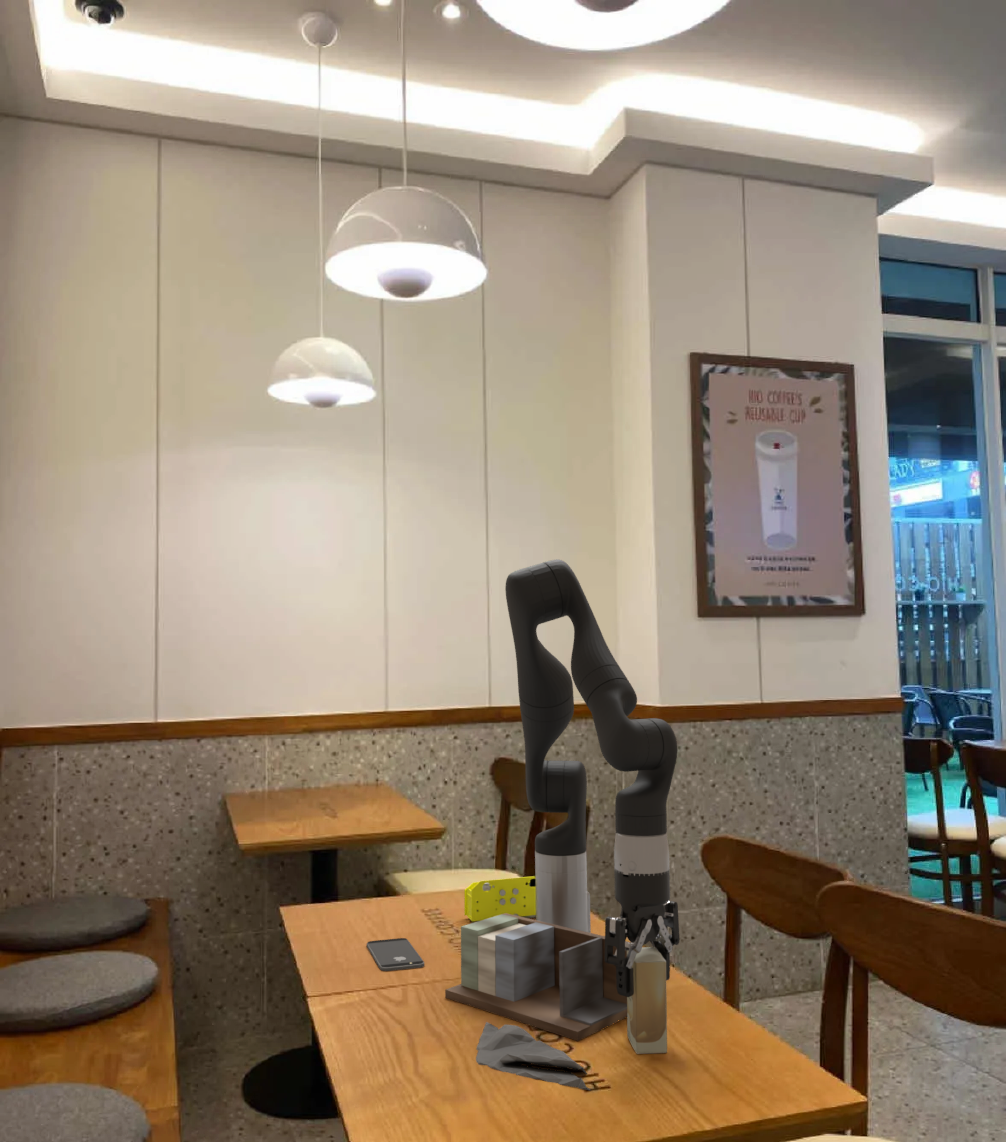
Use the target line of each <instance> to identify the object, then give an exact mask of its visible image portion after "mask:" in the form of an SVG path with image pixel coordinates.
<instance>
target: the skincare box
mask: <svg viewBox="0 0 1006 1142" xmlns="http://www.w3.org/2000/svg"><path fill="white" fill-rule="evenodd" d="M628 952H629V951H628V950H627V955H628ZM632 968H633V979H634V994H633V995H632V996H630V997H627V1019H626V1020H627V1021H626V1023H627V1024H626V1026H627V1027H626V1028H627V1029H626V1030H627V1033H626V1034H627V1035H626V1036H627V1038H628V1040H629V1042H630V1044H631V1047H632V1048H633V1050H634V1052H635V1054H636V1055H640V1054H641V1055H643V1054H648V1055H649V1054H666V1053H668V1023H667V1022H668V1020H667V1019H668V1017H667V1016H668V1015H667V1012H668V1011H667V1007H668V1006H667V1003H668V1002H667V998H668V995H667V994H668V992H667V981H666V960H665V959H664V958H663V956H662V955H661V953H660V952H659V951H658V950H657V948H656V947H653V946H649V947H647V946H646V947H645V946H644V947H643V946H642V949H641V952H640V953H637V954H636V957H635V960H634V962H633V965H632Z"/></svg>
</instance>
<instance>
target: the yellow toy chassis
mask: <svg viewBox="0 0 1006 1142" xmlns="http://www.w3.org/2000/svg"><path fill="white" fill-rule="evenodd" d="M463 899H464V901H463V902H464V909H463V910H464V911H463V913H464V916H466V917H467V918H468V919H469V921H471V922H478V921H481V920H484V919H488V918H491V917H494V916H498V915H501V914H504V913H507V914H511V915H516V916H520V917H524V918H529V919H532V918H533V919H535V918H536V882H535V875H533V876H524V877H523V876H519V877H510V878H500V879H488V880H487V879H485V880H480V881H476V882H475V881H474V882H471V884H469V886H467V887H465V889H464V898H463Z"/></svg>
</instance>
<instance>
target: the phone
mask: <svg viewBox="0 0 1006 1142" xmlns="http://www.w3.org/2000/svg"><path fill="white" fill-rule="evenodd" d="M366 948H367V951H369V953H370V955H371V957H372V958H373V960H374V962H375V963H376V965H377V967H378V968H379V969H380V971H382V972H391V971H402V970H412V969H420V968H423V967H425V961H424V960H423V959H422V957H421V955H419V952H417V950H416V949H415V948H414V946H413V945H412V943H410V941H409V940H408V939H407V938H404V937H400V938H399V937H398V938H390V939H389V938H387V939H380V940H379V939H377V940H370V941H367V943H366Z"/></svg>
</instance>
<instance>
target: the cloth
mask: <svg viewBox="0 0 1006 1142" xmlns="http://www.w3.org/2000/svg"><path fill="white" fill-rule="evenodd" d="M475 1050H477V1053H476V1057H475V1061H476V1063H477V1064H478V1065H479V1066H487V1067H489V1068H490V1069H493V1070H496V1071H500V1072H502V1073H509V1074H515V1075H516V1076H520V1077H524V1078H529V1079H532V1080H540V1081H544V1082H547V1083H554V1084H559V1085H562V1086H565V1087H566V1086H567V1087H570V1088H578V1089H580V1090H584V1091H590V1092H591V1091H592V1089H591V1088H589V1087H587V1086H586V1084H585V1083H586V1082H585V1081H584V1080H583V1078H582V1077H578V1076H576V1075H575V1073H573V1072H572V1071H571V1070H573V1071H576V1072H578V1071H579V1070H580V1071H581V1072H582V1073H584V1074H585V1075H588V1073H587V1070H585V1068H584V1067H583V1066H582V1065H580V1064H579V1063H578V1062H576V1061H575V1060H573V1059H572V1058H571V1057H570V1056H569V1055H568V1054H567V1053H566V1052H564V1051H563V1050H560V1049H557V1048H555V1047H552V1046H550V1045H548V1044H547V1043H545V1042H543V1041H541V1040H536V1039H535V1038H534V1037H533V1036H532V1034H530V1033H529V1032H528V1031H527V1030H526V1029H524V1028H523V1027H520V1026H518V1025H514V1024H503V1025H502V1026H501V1027H500V1028H499V1027H498V1026H497V1027H496V1026H495V1025H493V1024H492V1023H490V1022H488V1021H486V1022H485V1024H484V1026H483V1030H482V1033H481V1034H480V1037H479V1040H478V1043H477V1045H476V1049H475ZM533 1065H534V1066H533ZM537 1066H538V1067H537ZM546 1067H548V1068H546ZM549 1067H550V1068H549ZM551 1067H552V1068H551ZM553 1068H554V1069H553ZM556 1068H557V1069H556ZM570 1069H571V1070H570Z"/></svg>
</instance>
